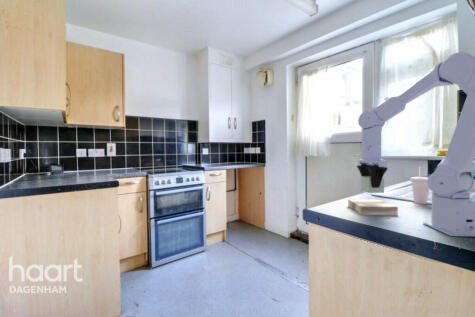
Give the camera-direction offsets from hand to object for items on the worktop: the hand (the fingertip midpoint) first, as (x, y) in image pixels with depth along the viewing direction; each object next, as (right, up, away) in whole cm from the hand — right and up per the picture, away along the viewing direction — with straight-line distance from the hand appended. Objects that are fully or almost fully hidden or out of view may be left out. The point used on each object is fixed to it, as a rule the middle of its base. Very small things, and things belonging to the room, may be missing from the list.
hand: (371, 186), depth 77 cm
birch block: (0, -9, 0) cm, 9 cm away
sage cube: (0, -2, 0) cm, 2 cm away
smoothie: (+24, -8, +8) cm, 26 cm away
